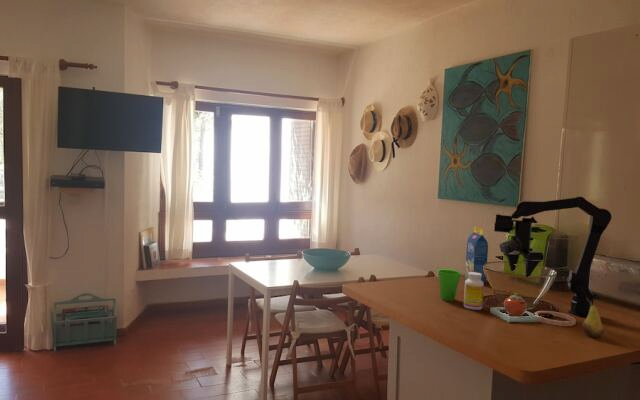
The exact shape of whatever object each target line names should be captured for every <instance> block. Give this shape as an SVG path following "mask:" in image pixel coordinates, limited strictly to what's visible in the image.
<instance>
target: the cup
mask: <svg viewBox="0 0 640 400" xmlns="http://www.w3.org/2000/svg"><path fill="white" fill-rule="evenodd" d="M437 272H438V280H439V282H438V283H439V291H440V298H441V300H443V301H445V302H447V301H448V302H453V301H455V300H456V295H457V290H458V286H459V283H460V278H461V274H462V272H461V271H459V270H455V269H449V268H448V269H447V268H440V269H437Z"/></svg>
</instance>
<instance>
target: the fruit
mask: <svg viewBox="0 0 640 400" xmlns="http://www.w3.org/2000/svg"><path fill="white" fill-rule="evenodd" d="M586 299H587V300H588V298H587V297H586ZM588 301H589V300H588ZM589 303H590V301H589ZM590 304H591V303H590ZM582 331H583V332H584V333H585V335H587V336H588V337H590V338H599V337H601V336H602V335H603V333H604V325H603V323H602V320H601V316H600V313H599V310H598V308H597V306H595V305H594V304H593V305H592V304H591V307H590V310H589V314H588V316H587V317H586V318H585V320H584V321H583V322H582Z"/></svg>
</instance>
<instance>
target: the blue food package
mask: <svg viewBox="0 0 640 400" xmlns="http://www.w3.org/2000/svg"><path fill="white" fill-rule="evenodd" d="M488 252H489V244H488V240H487V239H486V238H485V237H484V235H483V228H479V227H476V226H474V227H473V232H472V233H471V234H470V235H469V236H468V238H467V241H466V252H465V254H466V256H465V268H464V278H465V280H467V279H469V277H468V273H469V272H476V273H480V274H482V277H481V281H483V283H484V284H486V283H487V282H486V281H487V275H486V276H485V274H484V271H483V265H484V264H485V263H487V264H488V255H489V253H488Z"/></svg>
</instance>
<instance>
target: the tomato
mask: <svg viewBox="0 0 640 400" xmlns="http://www.w3.org/2000/svg"><path fill="white" fill-rule="evenodd" d="M503 308H505V310H506V312H507V313H508V315H510V316H512V317H519V316H522V315H523V314H524V312H525V310H526V311H527V302H526V301H525V300H524V299H523V297H522V296H519V295H518V293H517V292H515V293H514V294H513V295H510V296H509V297H506V298H505V299H504V301H503Z"/></svg>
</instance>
